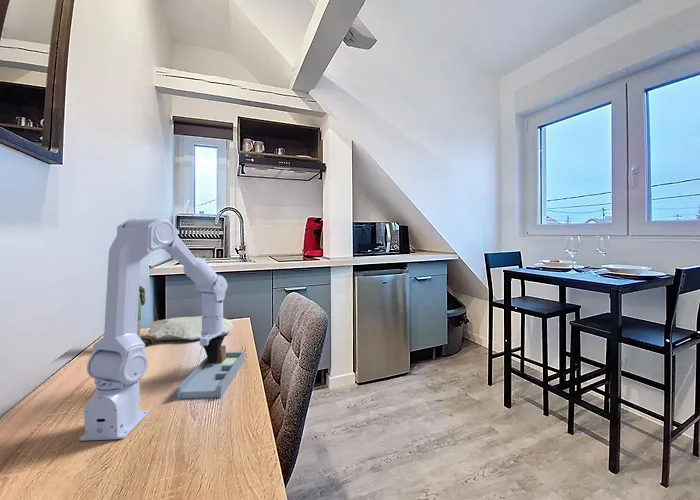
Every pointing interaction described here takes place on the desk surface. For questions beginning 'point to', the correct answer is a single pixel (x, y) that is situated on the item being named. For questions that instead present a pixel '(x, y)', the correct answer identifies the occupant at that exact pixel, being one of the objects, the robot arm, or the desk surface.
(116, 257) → the robot arm
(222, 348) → the block
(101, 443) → the desk surface
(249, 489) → the desk surface
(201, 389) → the box
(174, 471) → the desk surface
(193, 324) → the stone
